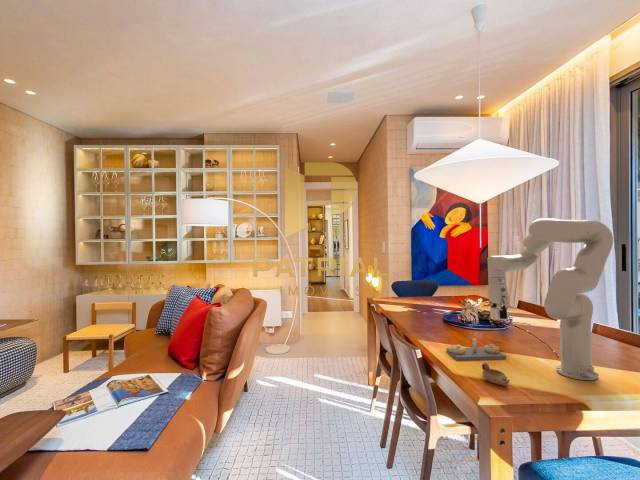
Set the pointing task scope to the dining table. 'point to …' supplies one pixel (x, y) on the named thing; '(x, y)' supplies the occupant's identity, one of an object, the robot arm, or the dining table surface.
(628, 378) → the dining table surface
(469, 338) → the dining table surface
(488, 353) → the gear board
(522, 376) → the dining table surface
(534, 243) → the robot arm
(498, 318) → the loose gear
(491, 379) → the brown duck figurine
